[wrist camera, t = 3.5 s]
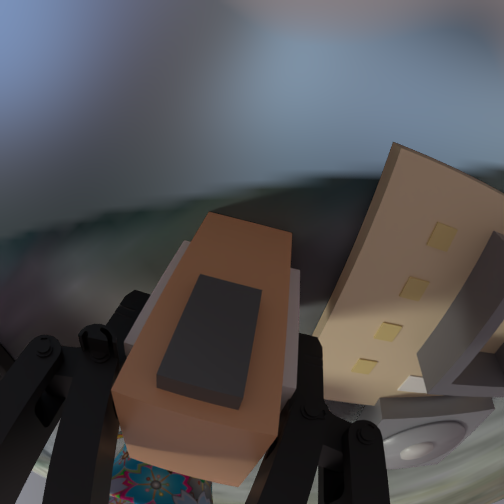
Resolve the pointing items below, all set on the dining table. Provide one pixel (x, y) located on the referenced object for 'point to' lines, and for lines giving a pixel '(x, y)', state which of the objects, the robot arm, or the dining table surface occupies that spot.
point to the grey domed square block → (425, 426)
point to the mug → (154, 484)
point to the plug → (211, 356)
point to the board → (419, 290)
